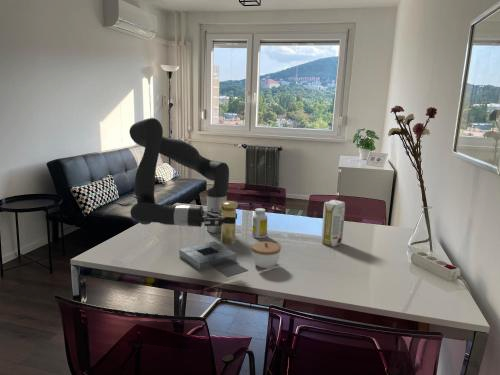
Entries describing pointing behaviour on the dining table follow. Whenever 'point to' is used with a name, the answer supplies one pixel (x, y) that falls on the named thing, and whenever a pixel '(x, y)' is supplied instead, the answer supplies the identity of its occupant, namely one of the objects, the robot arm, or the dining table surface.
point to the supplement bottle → (259, 223)
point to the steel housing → (207, 255)
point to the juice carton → (333, 222)
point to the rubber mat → (230, 269)
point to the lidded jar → (265, 254)
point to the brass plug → (228, 229)
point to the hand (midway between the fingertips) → (236, 218)
